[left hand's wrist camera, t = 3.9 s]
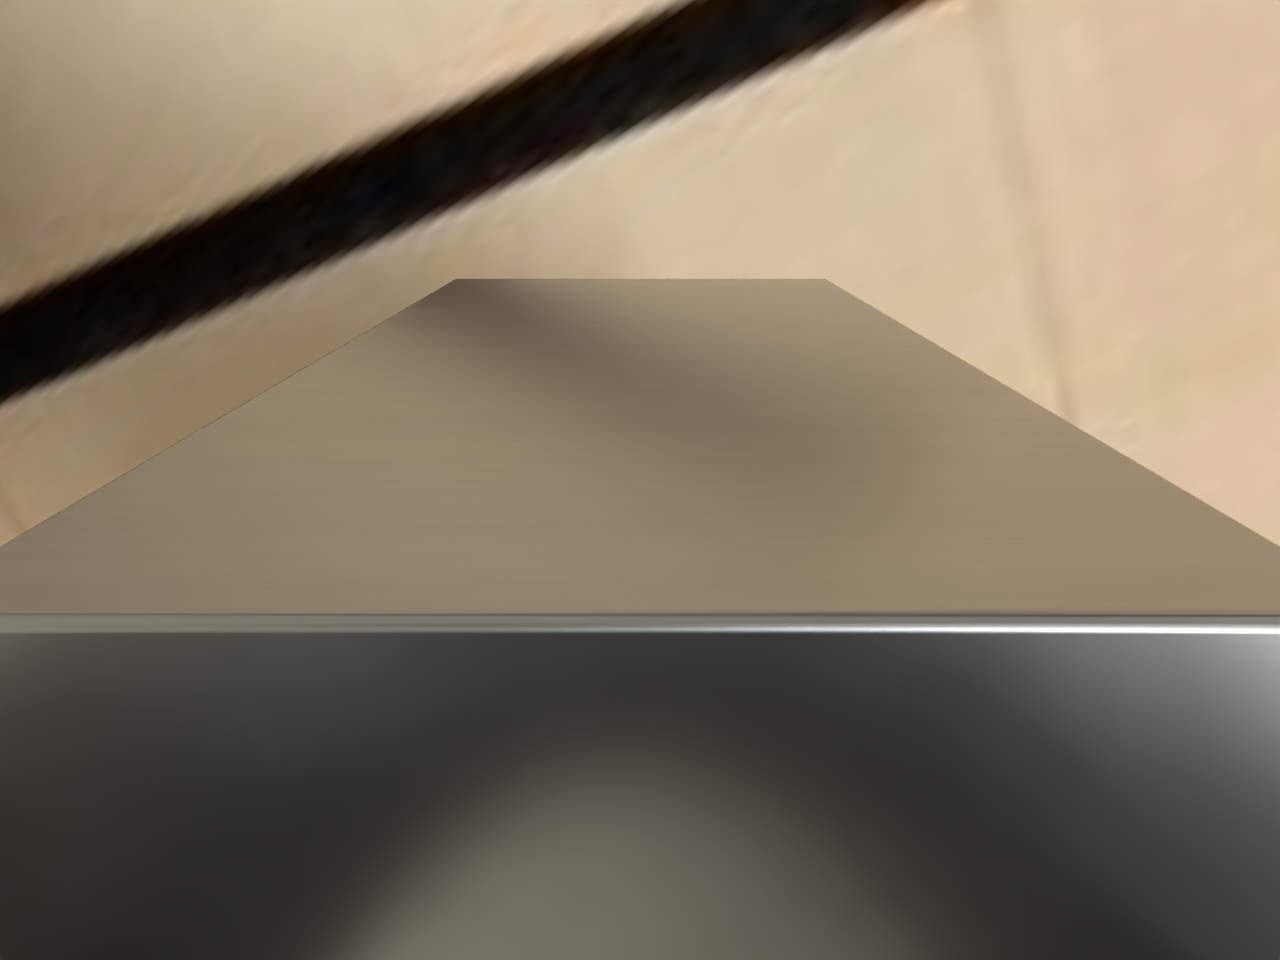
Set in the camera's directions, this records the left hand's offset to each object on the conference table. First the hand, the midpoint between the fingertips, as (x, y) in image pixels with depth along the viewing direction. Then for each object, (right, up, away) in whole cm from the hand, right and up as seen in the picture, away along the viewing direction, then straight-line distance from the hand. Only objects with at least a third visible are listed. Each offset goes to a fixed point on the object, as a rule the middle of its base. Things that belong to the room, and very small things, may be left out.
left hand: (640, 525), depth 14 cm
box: (0, -7, +6) cm, 10 cm away
